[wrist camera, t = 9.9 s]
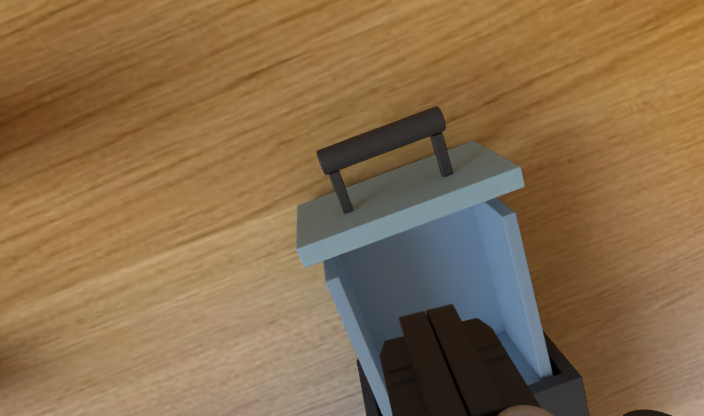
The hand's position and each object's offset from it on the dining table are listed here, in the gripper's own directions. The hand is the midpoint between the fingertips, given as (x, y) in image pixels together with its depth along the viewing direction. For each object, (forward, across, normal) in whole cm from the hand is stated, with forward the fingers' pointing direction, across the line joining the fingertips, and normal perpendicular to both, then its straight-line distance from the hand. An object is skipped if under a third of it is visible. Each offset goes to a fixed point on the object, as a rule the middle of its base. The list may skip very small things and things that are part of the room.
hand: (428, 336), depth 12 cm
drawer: (+18, -2, +7) cm, 19 cm away
